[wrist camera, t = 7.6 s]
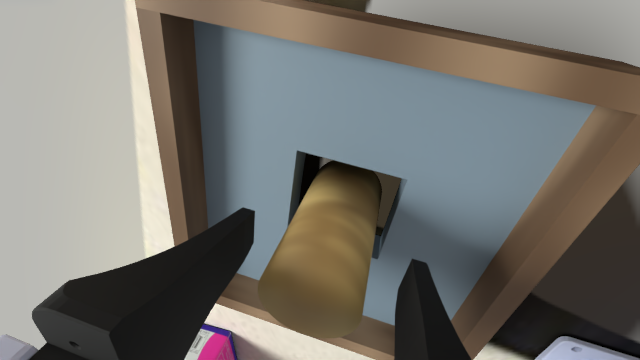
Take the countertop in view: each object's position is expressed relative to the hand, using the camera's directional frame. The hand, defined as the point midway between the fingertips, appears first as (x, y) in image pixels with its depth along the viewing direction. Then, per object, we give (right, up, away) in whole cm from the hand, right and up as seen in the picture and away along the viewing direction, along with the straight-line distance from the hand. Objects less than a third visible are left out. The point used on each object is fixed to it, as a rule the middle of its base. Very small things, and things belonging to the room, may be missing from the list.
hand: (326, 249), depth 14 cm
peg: (+1, +3, +4) cm, 5 cm away
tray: (+1, +3, +4) cm, 5 cm away
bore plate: (+1, +3, +4) cm, 5 cm away
